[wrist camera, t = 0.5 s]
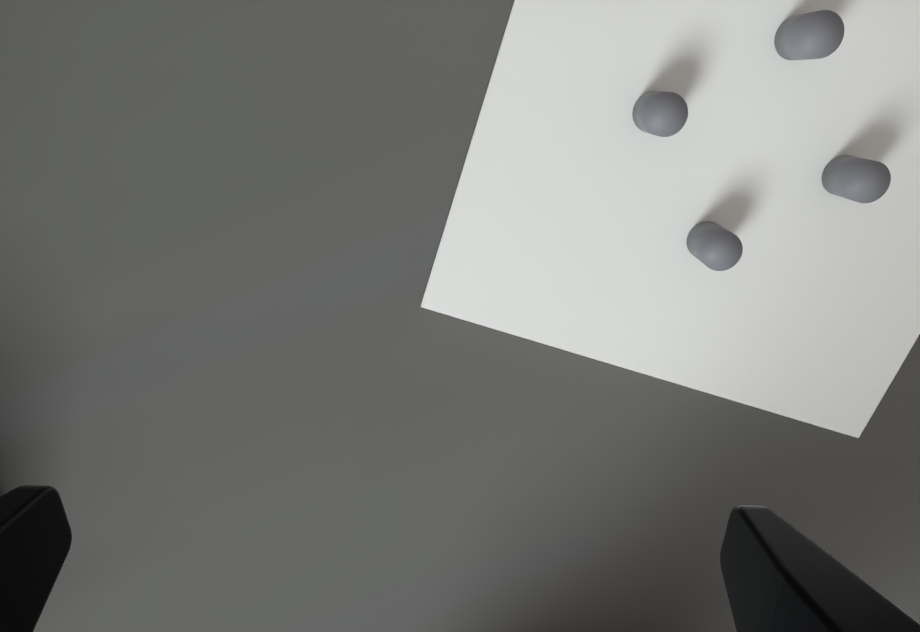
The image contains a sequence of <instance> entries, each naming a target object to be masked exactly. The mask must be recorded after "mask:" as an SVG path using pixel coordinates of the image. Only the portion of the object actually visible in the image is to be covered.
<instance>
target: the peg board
mask: <svg viewBox="0 0 920 632" xmlns="http://www.w3.org/2000/svg"><path fill="white" fill-rule="evenodd" d="M421 307H423V308H426V309H429V310H433V311H436V312H439V313H443V314H446V315H449V316H453V317H456V318H459V319H463V320H466V321H469V322H473V323H476V324H479V325H483V326H486V327H489V328H493V329H496V330H499V331H503V332H506V333H509V334H513V335H516V336H519V337H523V338H526V339H529V340H533V341H536V342H539V343H543V344H546V345H549V346H553V347H556V348H559V349H563V350H566V351H569V352H573V353H576V354H579V355H583V356H586V357H589V358H593V359H596V360H599V361H603V362H606V363H609V364H613V365H616V366H619V367H623V368H626V369H629V370H633V371H636V372H639V373H643V374H646V375H649V376H653V377H656V378H660V379H663V380H666V381H670V382H673V383H676V384H680V385H683V386H686V387H690V388H693V389H696V390H700V391H703V392H706V393H710V394H713V395H716V396H720V397H723V398H726V399H730V400H733V401H736V402H740V403H743V404H746V405H750V406H753V407H756V408H760V409H763V410H766V411H770V412H773V413H776V414H780V415H783V416H786V417H790V418H793V419H796V420H800V421H803V422H806V423H810V424H813V425H816V426H820V427H823V428H826V429H830V430H833V431H836V432H840V433H843V434H846V435H850V436H853V437H856V438H859V437H860V435H861V433H862V431H863V430H864V428H865V426H866V425H867V423H868V421H869V420H870V418H871V416H872V414H873V413H874V411H875V409H876V408H877V406H878V404H879V402H880V401H881V399H882V397H883V396H884V394H885V392H886V391H887V389H888V387H889V385H890V384H891V382H892V380H893V379H894V377H895V375H896V373H897V372H898V370H899V368H900V367H901V365H902V363H903V362H904V360H905V358H906V356H907V355H908V353H909V351H910V350H911V348H912V346H913V344H914V343H915V341H916V339H917V338H918V336H919V334H920V0H514V3H513V7H512V10H511V13H510V16H509V20H508V23H507V26H506V29H505V33H504V36H503V39H502V42H501V46H500V49H499V52H498V55H497V59H496V62H495V65H494V68H493V72H492V75H491V78H490V81H489V85H488V88H487V91H486V95H485V98H484V101H483V104H482V108H481V111H480V114H479V117H478V121H477V124H476V127H475V130H474V134H473V137H472V140H471V143H470V147H469V150H468V153H467V156H466V160H465V163H464V166H463V169H462V173H461V176H460V179H459V182H458V186H457V189H456V192H455V195H454V199H453V202H452V205H451V209H450V212H449V215H448V218H447V222H446V225H445V228H444V231H443V235H442V238H441V241H440V244H439V248H438V251H437V254H436V257H435V261H434V264H433V267H432V270H431V274H430V277H429V280H428V283H427V287H426V290H425V293H424V296H423V300H422V304H421Z"/></svg>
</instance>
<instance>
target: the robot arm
mask: <svg viewBox="0 0 920 632" xmlns="http://www.w3.org/2000/svg"><path fill="white" fill-rule="evenodd" d="M71 539H72V535H71V529H70V526H69V522H68V519H67V516H66V513H65V510H64V507H63V504H62V501H61V498H60V495H59V493H58V491H57V490H56V489H55V488H54V487H50V486H33V485H26V486H20V487H17V488H15V489H13V490H12V491H10V492H8V493H6V494H4V495H2V496H1V497H0V632H33V630H34V628H35V626H36V624H37V622H38V619H39V617H40V615H41V613H42V610H43V608H44V606H45V604H46V601H47V599H48V597H49V595H50V592H51V590H52V588H53V586H54V583H55V581H56V579H57V577H58V574H59V572H60V570H61V568H62V566H63V563H64V561H65V559H66V557H67V554H68V552H69V549H70V546H71ZM720 562H721V569H722V574H723V578H724V582H725V586H726V590H727V594H728V598H729V602H730V606H731V610H732V614H733V618H734V622H735V626H736V630H737V632H920V625H919V624H918V623H917V622H915V621H914V620H913V619H911V618H910V617H909V616H908V615H906V614H905V613H904V612H902V611H901V610H900V609H899V608H897V607H896V606H895V605H893V604H892V603H891V602H890V601H888V600H887V599H886V598H884V597H883V596H882V595H881V594H879V593H878V592H877V591H875V590H874V589H873V588H872V587H870V586H869V585H868V584H866V583H865V582H864V581H863V580H861V579H860V578H859V577H857V576H856V575H855V574H854V573H852V572H851V571H850V570H848V569H847V568H846V567H845V566H843V565H842V564H841V563H839V562H838V561H837V560H836V559H834V558H833V557H832V556H830V555H829V554H828V553H827V552H825V551H824V550H823V549H821V548H820V547H819V546H818V545H816V544H815V543H814V542H812V541H811V540H810V539H809V538H807V537H806V536H805V535H803V534H802V533H801V532H800V531H798V530H797V529H796V528H794V527H793V526H792V525H791V524H789V523H788V522H787V521H785V520H784V519H783V518H782V517H780V516H779V515H778V514H776V513H775V512H774V511H773V510H771V509H769V508H768V507H765V506H752V505H738V506H736V507H734V508H733V509H732V511H731V513H730V517H729V521H728V524H727V528H726V532H725V536H724V540H723V544H722V548H721V554H720Z"/></svg>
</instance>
